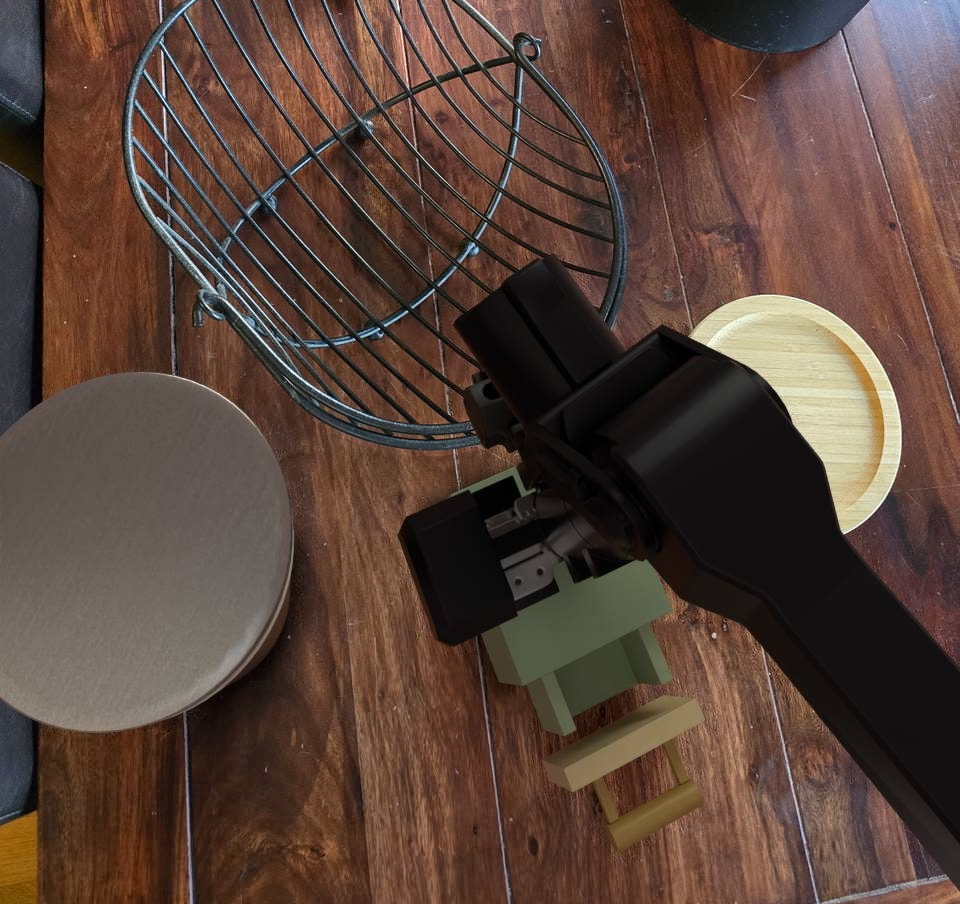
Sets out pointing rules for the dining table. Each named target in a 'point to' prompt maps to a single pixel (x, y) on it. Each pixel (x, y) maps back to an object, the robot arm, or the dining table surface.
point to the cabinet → (572, 615)
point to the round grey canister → (137, 552)
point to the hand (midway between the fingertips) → (554, 524)
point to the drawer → (618, 730)
